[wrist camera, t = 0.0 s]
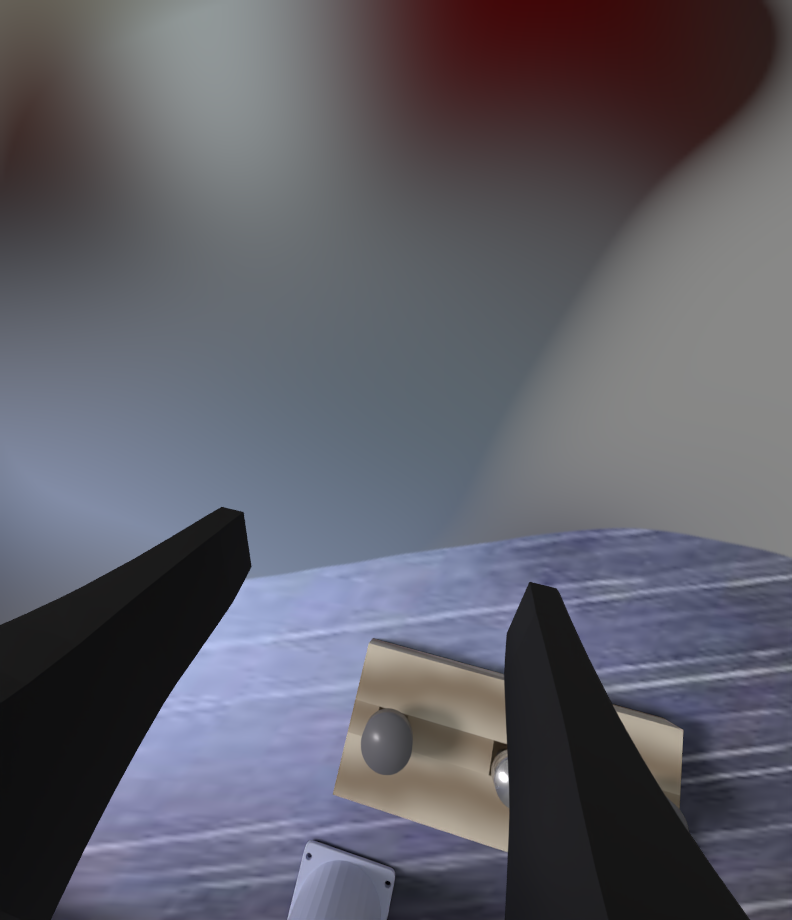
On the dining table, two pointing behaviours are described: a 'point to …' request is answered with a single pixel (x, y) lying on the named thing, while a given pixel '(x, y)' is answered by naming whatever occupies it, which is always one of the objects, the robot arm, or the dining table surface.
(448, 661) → the mount board
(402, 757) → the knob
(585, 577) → the dining table surface
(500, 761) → the pot knob
